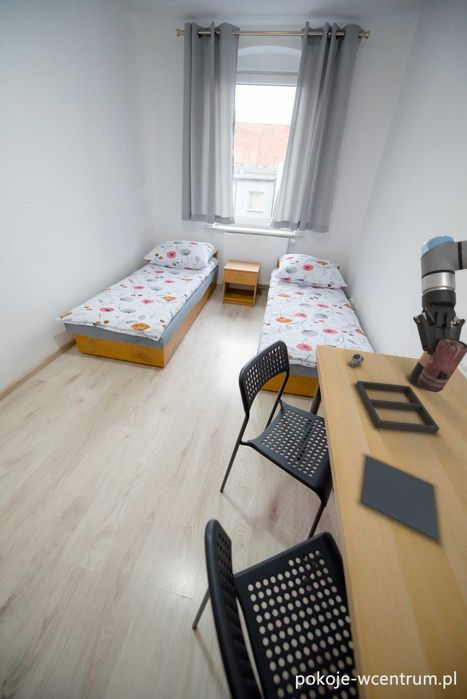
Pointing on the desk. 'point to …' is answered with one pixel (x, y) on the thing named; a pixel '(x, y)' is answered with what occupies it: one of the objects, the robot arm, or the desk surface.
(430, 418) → the frame
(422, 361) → the travel mug
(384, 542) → the desk surface
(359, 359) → the wristwatch
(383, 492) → the mat
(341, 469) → the desk surface
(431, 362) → the can
